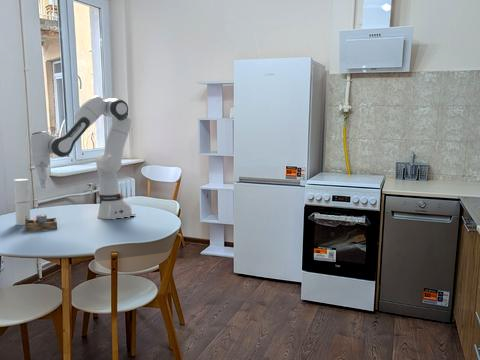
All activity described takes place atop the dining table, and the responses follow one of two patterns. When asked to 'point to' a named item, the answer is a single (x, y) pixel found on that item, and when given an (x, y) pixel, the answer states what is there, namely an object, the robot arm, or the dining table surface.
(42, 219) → the jar
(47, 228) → the brown wooden open box
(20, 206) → the cylindrical container
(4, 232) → the dining table surface
